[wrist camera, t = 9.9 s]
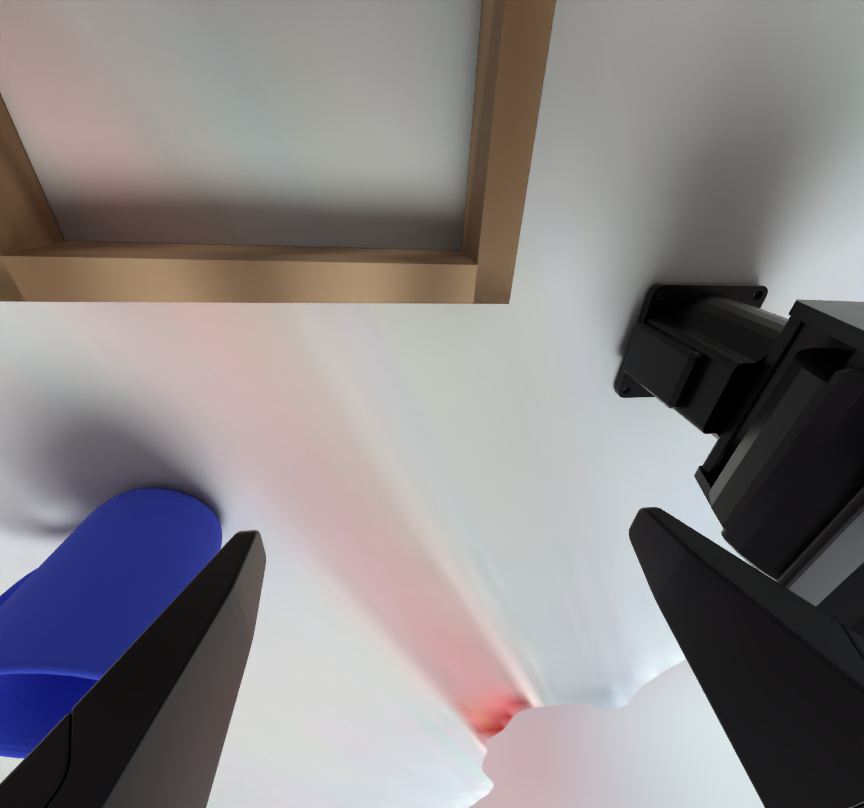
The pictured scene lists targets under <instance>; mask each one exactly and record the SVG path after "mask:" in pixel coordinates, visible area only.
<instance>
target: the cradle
mask: <svg viewBox="0 0 864 808" xmlns="http://www.w3.org/2000/svg"><path fill="white" fill-rule="evenodd" d="M555 3H556V0H482V11H481V23H480V36H479V48H478V60H477V72H476V85H475V97H474V109H473V121H472V134H471V146H470V158H469V170H468V183H467V195H466V207H465V219H464V232H463V244H462V251H457V250H415V249H374V248H333V247H291V246H250V245H209V244H168V243H126V242H85V241H64V238H63V236H62V234H61V232H60V229H59V227H58V225H57V223H56V220H55V218H54V216H53V213H52V211H51V209H50V207H49V204H48V202H47V200H46V198H45V195H44V193H43V191H42V188H41V186H40V184H39V182H38V179H37V177H36V175H35V173H34V170H33V168H32V166H31V163H30V161H29V159H28V157H27V154H26V152H25V150H24V148H23V145H22V143H21V141H20V138H19V136H18V134H17V132H16V129H15V127H14V125H13V123H12V120H11V118H10V116H9V113H8V111H7V109H6V107H5V104H4V102H3V100H2V98H1V95H0V301H32V302H240V303H449V304H509V300H510V294H511V287H512V281H513V274H514V268H515V261H516V255H517V248H518V242H519V236H520V229H521V223H522V216H523V210H524V203H525V197H526V190H527V184H528V177H529V171H530V165H531V158H532V152H533V145H534V139H535V132H536V126H537V119H538V113H539V107H540V100H541V94H542V87H543V81H544V74H545V68H546V61H547V55H548V48H549V42H550V36H551V29H552V23H553V16H554V10H555Z"/></svg>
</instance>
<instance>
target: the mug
mask: <svg viewBox="0 0 864 808" xmlns="http://www.w3.org/2000/svg"><path fill="white" fill-rule="evenodd" d="M221 543H222V530H221V526H220V523H219V521H218V519H217V517H216V516H215V514H214V513H213V512H212V511H211V510H210V509H209V508H208V507H207V506H206V505H204V504H203V503H202V502H200V501H199V500H197V499H195V498H193V497H191V496H189V495H186V494H183V493H180V492H177V491H172V490H167V489H158V488H145V489H138V490H132V491H128V492H125V493H122V494H119V495H117V496H115V497H113V498H111V499H110V500H108V501H106V502H105V503H103V504H102V505H101V506H100V507H98V508H97V509H96V510H94V511H93V512H92V513H91V514H90V515H89V516H88V517H87V518H86V519H85V520H84V521H83V522H82V523H81V524H80V525H79V526H78V527H77V528H76V529H75V531H74V532H73V533H72V534H71V535H70V536H69V537H68V538H67V539H66V540H65V541H64V542H63V543H62V544H61V545H60V546H59V547H58V548H57V549H56V550H55V551H54V552H53V553H52V554H51V555H50V556H49V557H48V558H47V559H46V560H45V561H44V562H43V564H42V565H41V566H40V567H39V568H37V569H36V570H34V571H32V572H31V573H29V574H28V575H26V576H25V577H23V578H22V579H21V580H19V581H18V582H17V583H15V584H14V585H13V586H12V587H10V588H9V589H8V590H7V591H6V592H4V593H3V594H2V595H1V596H0V756H5V757H13V758H26V757H27V755H28V754H29V753H30V752H31V751H32V750H33V749H34V748H35V747H36V746H37V745H38V744H39V743H40V742H41V741H42V740H43V739H44V738H45V737H46V736H47V735H48V733H49V732H50V731H51V730H52V729H53V728H54V727H55V726H56V725H57V724H58V723H59V722H60V721H61V720H62V719H63V717H64V716H65V715H67V714H69V713H71V711H72V708H73V707H74V706H75V705H76V704H77V703H78V702H79V701H80V700H81V698H82V697H83V696H84V695H85V694H86V693H87V692H88V691H89V690H90V689H91V688H92V687H93V686H94V685H95V683H96V682H97V681H98V680H99V679H100V678H101V677H102V676H103V675H104V674H105V673H106V672H107V671H108V670H109V669H110V667H111V666H112V665H113V664H114V663H115V662H116V661H117V660H118V659H119V658H120V657H121V656H122V655H123V654H124V652H125V651H126V650H127V649H128V648H129V647H130V646H131V645H132V644H133V643H134V642H135V641H136V640H137V639H138V638H139V636H140V635H141V634H142V633H143V632H144V631H145V630H146V629H147V628H148V627H149V626H150V625H151V624H152V623H153V621H154V620H155V619H156V618H157V617H158V616H159V615H160V614H161V613H162V612H163V611H164V610H165V609H166V608H167V607H168V605H169V604H170V603H171V602H172V601H173V600H174V599H175V598H176V597H177V596H178V595H179V594H180V593H181V592H182V590H183V589H184V588H185V587H186V586H187V585H188V584H189V583H190V582H191V581H192V580H193V579H194V578H195V577H196V576H197V574H198V573H199V572H200V571H201V570H202V569H203V568H204V567H205V566H206V565H207V564H208V563H209V562H210V561H211V559H212V558H213V557H214V556H215V555H216V554H217V553H218V552H219V551H220V549H221Z"/></svg>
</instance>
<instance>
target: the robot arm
mask: <svg viewBox="0 0 864 808" xmlns="http://www.w3.org/2000/svg"><path fill="white" fill-rule="evenodd" d="M661 290H662V293H661V295H660V296H659V297H657V295H658V293H659V292H660V291H661ZM755 293H756V294H755ZM767 293H768V289H767V288H766V287H765V286H761V285H758V284H719V283H657V284H655V285H653V286H652V287H651V288H650V290H649V292H648V294H647V297H646V300H645V303H644V306H643V308H642V311H641V314H640V317H639V320H638V323H637V326H636V328H635V331H634V334H633V337H632V340H631V343H630V346H629V348H628V351H627V354H626V357H625V360H624V363H623V366H622V369H621V372H620V375H619V377H618V380H617V383H616V386H615V392H616V393H617V394H618V395H619V396H620V397H622V398H633V397H656V398H657V399H659V400H660V401H661V402H662V403H664V404H665V405H666V406H667V407H669V408H673V409H674V410H675V411H677V412H678V413H679V414H680V415H682V416H683V417H684V418H685V419H687V420H688V421H689V422H690V423H692V424H693V425H694V426H695V427H697V428H698V429H699V430H700V431H702V432H703V433H705V434H712V435H713V436H714V437H715V438H717V439H718V440H717V442H716V443H715V445H714V447H713V449H712V450H711V452H710V454H709V455H708V457H707V459H706V460H705V462H704V464H703V466H699V468H698V470H697V471H696V473H695V475H694V476H695V478H696V480H697V482H698V484H699V486H700V487H701V489H702V491H703V493H704V495H705V496H706V498H707V500H708V502H709V504H710V505H711V508H712V510H713V511H714V513H715V515H716V516H717V518H718V520H719V522H720V523H721V525H722V527H723V530H722V532H721V533H722V536H723V538H724V539H725V541H726V542H727V543H728V544H729V545H730V546H731V547H732V548H733V549H734V550H735V551H736V552H737V553H738V554H739V555H740V556H741V557H743V558H744V559H745V560H746V561H747V562H748V563H750V564H751V565H752V566H753V567H752V566H751V565H749V564H747V563H746V562H744V561H743V560H741V559H740V558H738V557H736V556H735V555H733V554H732V553H730V552H728V551H727V550H725V549H724V548H722V547H721V546H719V545H717V544H716V543H714V542H713V541H711V540H709V539H708V538H706V537H705V536H703V535H702V534H700V533H698V532H697V531H695V530H694V529H692V528H690V527H689V526H687V525H686V524H684V523H682V522H681V521H679V520H678V519H676V518H675V517H673V516H671V515H670V514H668V513H667V512H665V511H663V510H662V509H660V508H657V507H648V508H641V509H640V510H639V511H638V513H637V515H636V517H635V519H634V521H633V523H632V525H631V527H630V529H629V538H630V541H631V543H632V546H633V548H634V551H635V553H636V555H637V558H638V560H639V562H640V565H641V567H642V570H643V572H644V574H645V577H646V579H647V582H648V584H649V586H650V589H651V591H652V593H653V596H654V598H655V600H656V602H657V604H658V606H659V608H660V610H661V612H662V614H663V616H664V617H665V619H666V621H667V623H668V625H669V627H670V629H671V631H672V633H673V635H674V636H675V638H676V640H677V642H678V644H679V646H680V648H681V650H682V652H683V653H684V655H685V657H686V659H687V661H688V663H689V665H690V667H691V668H692V670H693V672H694V674H695V676H696V678H697V680H698V682H699V684H700V685H701V688H702V689H703V691H704V693H705V695H706V697H707V699H708V701H709V703H710V705H711V706H712V708H713V710H714V712H715V714H716V716H717V718H718V720H719V721H720V723H721V725H722V727H723V729H724V731H725V733H726V735H727V737H728V739H729V741H730V742H731V744H732V746H733V748H734V750H735V752H736V754H737V756H738V757H739V759H740V761H741V763H742V765H743V767H744V769H745V771H746V773H747V775H748V776H749V778H750V780H751V782H752V784H753V786H754V788H755V790H756V792H757V794H758V795H759V797H760V799H761V801H762V803H763V805H764V807H765V808H864V302H849V301H822V300H796V302H795V304H794V305H793V307H792V309H791V310H790V312H789V315H791V316H790V318H789V319H787V318H784V317H781V316H778V315H776V314H773V313H770V312H767V311H765V310H762V309H760V307H761V305H762V304H763V302H764V300H765V298H766V296H767ZM754 295H755V296H754ZM625 387H627V388H626V389H625V390H623V389H624V388H625ZM265 565H266V554H265V550H264V546H263V542H262V539H261V535H260V533H259V531H257V530H251V531H240V532H238V533H236V534H235V535H234V536H233V537H232V538H231V539H230V540H229V541H228V542H227V543H226V544H225V546H224V547H223V548H222V549H221V550H220V551H219V552H218V553H217V554H216V555H215V556H214V557H213V558H212V559H211V561H210V562H209V563H208V564H207V565H206V566H205V567H204V568H203V569H202V570H201V571H200V572H199V573H198V574H197V576H196V577H195V578H194V579H193V580H192V581H191V582H190V583H189V584H188V585H187V586H186V587H185V588H184V589H183V590H182V592H181V593H180V594H179V595H178V596H177V597H176V598H175V599H174V600H173V601H172V602H171V603H170V604H169V605H168V607H167V608H166V609H165V610H164V611H163V612H162V613H161V614H160V615H159V616H158V617H157V618H156V619H155V620H154V621H153V623H152V624H151V625H150V626H149V627H148V628H147V629H146V630H145V631H144V632H143V633H142V634H141V635H140V636H139V638H138V639H137V640H136V641H135V642H134V643H133V644H132V645H131V646H130V647H129V648H128V649H127V650H126V651H125V652H124V654H123V655H122V656H121V657H120V658H119V659H118V660H117V661H116V662H115V663H114V664H113V665H112V666H111V667H110V669H109V670H108V671H107V672H106V673H105V674H104V675H103V676H102V677H101V678H100V679H99V680H98V681H97V682H96V683H95V685H94V686H93V687H92V688H91V689H90V690H89V691H88V692H87V693H86V694H85V695H84V696H83V697H82V698H81V700H80V701H79V702H78V703H77V704H76V705H75V706H74V707H73V708H72V711H71V713H69V714H67V715H65V716H64V717H63V719H62V720H61V721H60V722H59V723H58V724H57V725H56V726H55V727H54V728H53V729H52V730H51V731H50V732H49V733H48V735H47V736H46V737H45V738H44V739H43V740H42V741H41V742H40V743H39V744H38V745H37V746H36V747H35V748H34V749H33V750H32V751H31V752H30V753H29V754H28V755H27V757H26V758H25V759H24V760H23V761H22V762H21V763H20V764H19V765H18V766H17V767H16V768H15V769H14V770H13V771H12V772H11V773H10V774H9V775H8V776H7V777H6V778H5V779H4V780H3V781H2V782H1V783H0V808H206V806H207V802H208V799H209V795H210V792H211V788H212V784H213V781H214V777H215V774H216V770H217V767H218V763H219V759H220V756H221V752H222V749H223V745H224V741H225V738H226V734H227V731H228V727H229V724H230V720H231V716H232V713H233V709H234V706H235V702H236V699H237V695H238V691H239V688H240V684H241V681H242V677H243V673H244V670H245V666H246V663H247V659H248V656H249V652H250V648H251V644H252V640H253V636H254V630H255V625H256V619H257V613H258V607H259V601H260V595H261V589H262V583H263V577H264V571H265ZM754 567H755V568H756V569H755V568H754Z"/></svg>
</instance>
